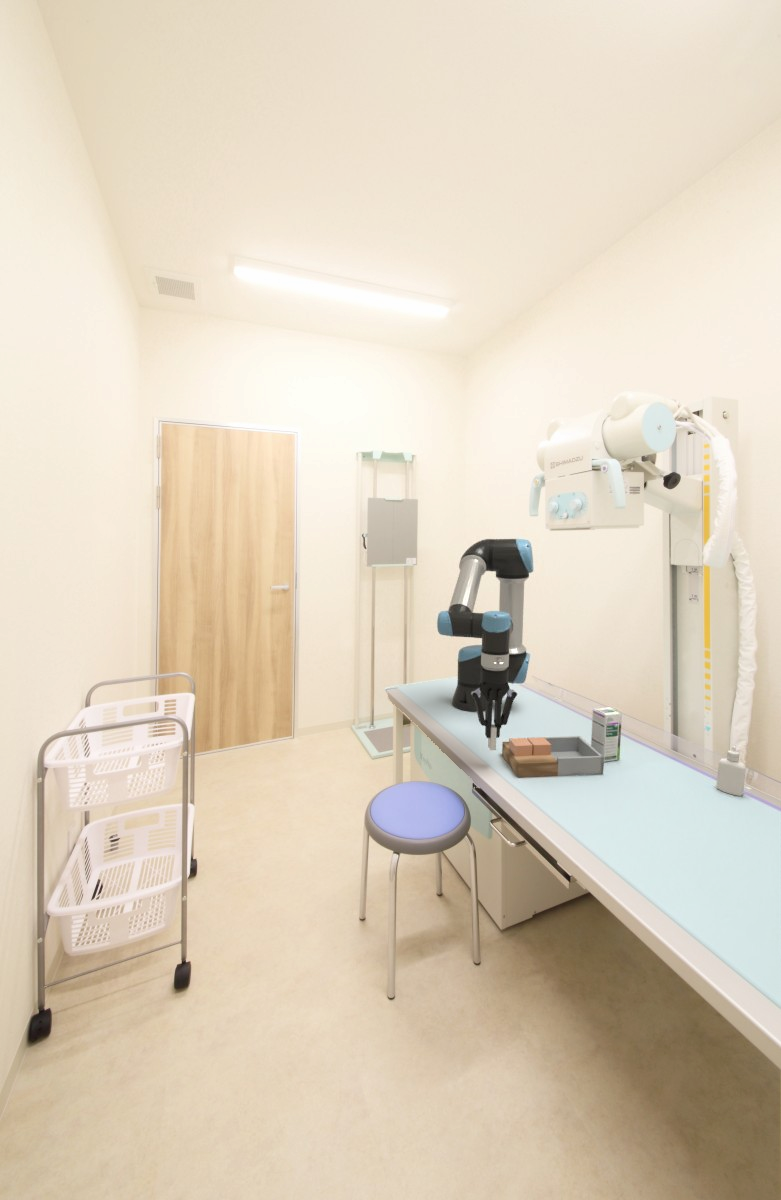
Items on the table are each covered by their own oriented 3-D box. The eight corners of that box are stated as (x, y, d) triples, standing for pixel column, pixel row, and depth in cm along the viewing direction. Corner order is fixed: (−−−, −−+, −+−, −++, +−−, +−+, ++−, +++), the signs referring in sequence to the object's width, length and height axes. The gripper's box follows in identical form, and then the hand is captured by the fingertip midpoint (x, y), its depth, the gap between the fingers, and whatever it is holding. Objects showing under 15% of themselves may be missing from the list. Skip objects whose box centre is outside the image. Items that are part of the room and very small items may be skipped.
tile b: (526, 747, 138) (527, 737, 137) (543, 747, 138) (543, 737, 138) (533, 755, 133) (533, 745, 132) (550, 754, 133) (551, 744, 133)
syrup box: (603, 762, 137) (606, 714, 135) (589, 753, 143) (592, 707, 141) (619, 760, 139) (623, 712, 137) (605, 751, 144) (608, 706, 142)
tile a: (508, 748, 137) (509, 738, 137) (525, 747, 138) (525, 737, 137) (514, 756, 132) (515, 745, 132) (532, 755, 133) (532, 745, 132)
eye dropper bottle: (725, 784, 125) (729, 741, 124) (746, 795, 120) (751, 750, 118) (712, 786, 124) (717, 743, 122) (733, 798, 119) (738, 752, 117)
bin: (537, 753, 143) (538, 737, 142) (578, 751, 144) (579, 736, 143) (557, 776, 129) (558, 758, 129) (603, 774, 130) (604, 757, 130)
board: (502, 754, 142) (502, 741, 142) (537, 753, 143) (538, 740, 142) (518, 777, 128) (519, 763, 128) (557, 776, 129) (558, 762, 129)
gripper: (475, 671, 127) (472, 754, 130) (522, 670, 128) (518, 753, 131) (468, 664, 134) (466, 743, 137) (512, 663, 135) (509, 741, 138)
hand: (491, 748), depth 134 cm, fingers closed
